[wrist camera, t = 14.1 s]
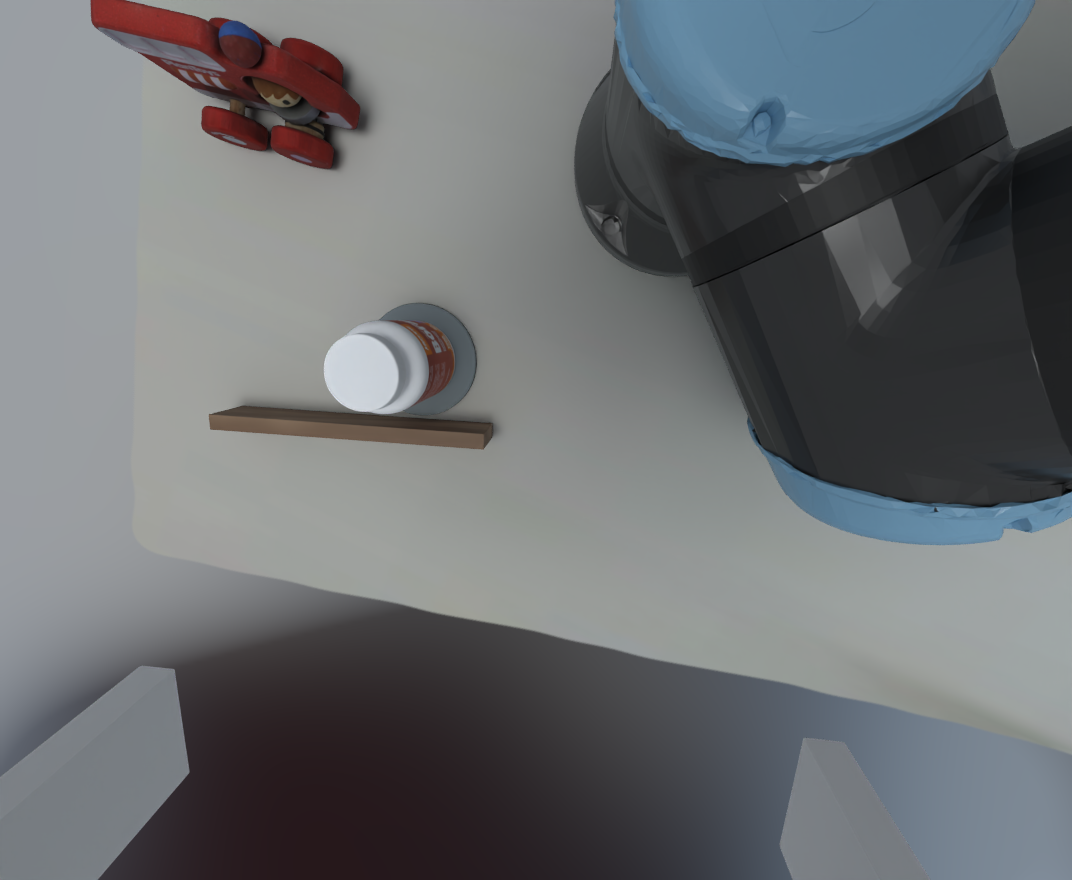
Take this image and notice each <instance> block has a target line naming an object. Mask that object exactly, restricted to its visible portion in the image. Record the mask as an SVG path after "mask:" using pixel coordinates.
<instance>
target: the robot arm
mask: <svg viewBox="0 0 1072 880" xmlns="http://www.w3.org/2000/svg"><path fill="white" fill-rule="evenodd" d="M1034 4H1035V0H615V6H616V9H615V13H614V17H613V18H614V19H615V21H616V29H615V32H614V34H615V39H614V47H613V56H612V64H611V69H610V70H609V71H608V73H607V74H606V75H605V76H604V78H603V79H602V80H601V82H600V83H599V85H598V86H597V88H596V90H595V91H594V93H593V95H592V97H591V99H590V101H589V103H588V105H587V107H586V109H585V112H584V114H583V117H582V120H581V123H580V126H579V130H578V135H577V140H576V146H575V157H574V171H575V186H576V192H577V197H578V201H579V205H580V208H581V211H582V214H583V216H584V218H585V221H586V223H587V224H588V226H589V228H590V230H591V231H592V233H593V234H594V236H595V237H596V239H597V240H598V241H599V242H600V244H601V245H602V246H603V247H604V248H605V249H606V250H607V251H608V252H609V253H611V254H612V255H613V256H614V257H615V258H617V259H618V260H620V261H621V262H623V263H624V264H626V265H628V266H630V267H632V268H634V269H637V270H639V271H642V272H645V273H649V274H654V275H660V276H685V275H689V277H690V279H691V282H692V284H693V288H694V291H695V293H696V295H697V298H698V300H699V302H700V305H701V307H702V309H703V312H704V314H705V316H706V319H707V321H708V323H709V326H710V328H711V330H712V333H713V335H714V338H715V340H716V342H717V345H718V347H719V349H720V352H721V354H722V356H723V359H724V361H725V363H726V366H727V368H728V370H729V373H730V375H731V377H732V380H733V382H734V384H735V387H736V389H737V391H738V394H739V396H740V398H741V401H742V403H743V405H744V408H745V410H746V412H747V415H748V420H747V424H748V428H749V432H750V434H751V437H752V439H753V441H754V443H755V444H756V446H758V447H759V449H760V450H761V452H762V454H763V455H764V456H766V458H767V460H768V462H769V464H770V466H771V468H772V470H773V472H774V475H775V477H776V479H777V481H778V483H779V484H780V486H781V488H782V489H783V491H784V492H785V493H786V495H788V496H789V497H790V499H791V500H792V501H793V502H794V503H795V504H796V505H797V506H798V507H800V508H801V509H802V510H803V511H805V512H806V513H808V514H809V515H811V516H812V517H814V518H816V519H818V520H820V521H822V522H824V523H826V524H828V525H830V526H833V527H835V528H838V529H840V530H843V531H846V532H850V533H853V534H857V535H860V536H865V537H870V538H874V539H879V540H885V541H891V542H899V543H907V544H922V545H960V544H974V543H983V542H990V541H996V540H999V539H1000V538H1001V537H1002V535H1003V528H1007V529H1017V530H1020V531H1024V532H1030V533H1033V532H1036V531H1039V530H1042V529H1045V528H1048V527H1051V526H1054V525H1056V524H1059V523H1061V522H1064V521H1065V520H1067V519H1069V518H1071V517H1072V126H1070V127H1068V128H1066V129H1064V130H1061V131H1059V132H1057V133H1055V134H1052V135H1050V136H1048V137H1046V138H1043V139H1041V140H1039V141H1036V142H1034V143H1032V144H1030V145H1027V146H1025V147H1022V148H1018V149H1015V148H1013V147H1012V145H1011V141H1010V138H1009V134H1008V131H1007V128H1006V124H1005V120H1004V117H1003V113H1002V110H1001V106H1000V103H999V99H998V96H997V94H996V89H995V85H994V80H993V77H992V73H991V70H990V68H992V67H994V66H995V64H996V62H997V60H998V58H999V56H1000V55H1001V54H1002V53H1003V51H1004V50H1005V49H1006V48H1007V46H1008V45H1009V44H1010V43H1011V41H1012V40H1013V39H1014V37H1015V36H1016V34H1017V33H1018V31H1019V30H1020V28H1021V27H1022V25H1023V24H1024V22H1025V21H1026V19H1027V18H1028V16H1029V14H1030V12H1031V10H1032V8H1033V6H1034ZM188 774H189V766H188V760H187V753H186V746H185V740H184V732H183V725H182V719H181V712H180V705H179V698H178V691H177V684H176V677H175V670H174V669H167V668H158V667H149V666H140V667H139V668H137V669H136V670H135V671H134V672H132V673H131V674H130V675H128V676H127V677H126V678H125V679H123V680H122V681H121V682H120V683H118V684H117V685H116V686H115V687H113V688H112V689H111V690H110V691H108V692H107V693H106V694H104V695H103V696H102V697H101V698H99V699H98V700H97V701H96V702H94V703H93V704H92V705H91V706H89V707H88V708H87V709H86V710H84V711H83V712H82V713H80V714H79V715H78V716H77V717H75V718H74V719H73V720H72V721H70V722H69V723H68V724H67V725H66V726H64V727H63V728H62V729H60V730H59V731H58V732H57V733H55V734H54V735H53V736H52V737H50V738H49V739H48V740H46V741H45V742H44V743H43V744H42V745H40V746H39V747H38V748H36V749H35V750H34V751H33V752H31V753H30V754H29V755H27V756H26V757H25V758H24V759H22V760H21V761H20V762H19V763H17V764H16V765H15V766H14V767H12V768H11V769H10V770H9V771H8V772H6V773H5V774H4V775H2V776H1V777H0V880H97V879H98V878H99V877H100V876H101V875H102V874H103V873H104V871H105V870H106V869H107V868H108V867H109V866H110V864H111V863H112V862H113V861H114V860H115V859H116V857H117V856H118V855H119V854H120V853H121V852H122V850H123V849H124V848H125V847H126V846H127V845H128V843H129V842H130V841H131V840H132V839H133V838H134V836H135V835H136V834H137V833H138V832H139V831H140V829H141V828H142V827H143V826H144V825H145V824H146V822H147V821H148V820H149V819H150V818H151V817H152V815H153V814H154V813H155V812H156V811H157V810H158V808H159V807H160V806H161V805H162V804H163V803H164V801H165V800H166V799H167V798H168V797H169V795H170V794H171V793H172V792H173V791H174V790H175V789H176V787H177V786H178V785H179V784H180V783H181V782H182V780H183V779H184V778H185V777H186V776H187V775H188ZM780 848H781V850H782V853H783V855H784V858H785V861H786V863H787V866H788V868H789V871H790V874H791V876H792V879H793V880H930V878H929V877H928V875H927V873H926V872H925V870H924V869H923V867H922V866H921V864H920V862H919V861H918V859H917V858H916V856H915V855H914V853H913V851H912V850H911V848H910V847H909V845H908V843H907V842H906V840H905V838H904V837H903V835H902V834H901V832H900V830H899V829H898V827H897V826H896V824H895V822H894V821H893V819H892V818H891V816H890V815H889V813H888V811H887V810H886V808H885V807H884V805H883V803H882V802H881V800H880V799H879V797H878V795H877V794H876V792H875V791H874V789H873V787H872V786H871V784H870V783H869V781H868V780H867V778H866V776H865V775H864V773H863V772H862V770H861V768H860V767H859V765H858V764H857V762H856V760H855V759H854V757H853V756H852V754H851V753H850V751H849V749H848V748H847V746H846V744H845V743H844V742H838V741H829V740H820V739H811V738H804V739H803V743H802V748H801V752H800V757H799V762H798V766H797V770H796V775H795V779H794V783H793V788H792V792H791V797H790V802H789V806H788V811H787V815H786V819H785V824H784V828H783V832H782V837H781V841H780Z"/></svg>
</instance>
